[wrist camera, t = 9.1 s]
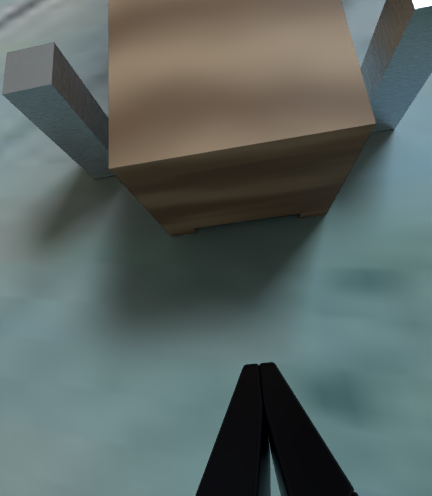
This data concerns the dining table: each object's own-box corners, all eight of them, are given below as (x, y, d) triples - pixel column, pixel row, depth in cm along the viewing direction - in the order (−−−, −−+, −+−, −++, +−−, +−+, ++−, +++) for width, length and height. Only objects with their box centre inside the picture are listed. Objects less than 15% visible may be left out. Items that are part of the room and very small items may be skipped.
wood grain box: (326, 214, 23) (376, 123, 13) (171, 236, 24) (108, 168, 14) (291, 48, 28) (307, -114, 18) (161, 74, 29) (108, -63, 19)
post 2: (394, 128, 24) (482, -6, 15) (355, 135, 24) (415, 8, 15) (385, 97, 25) (461, -49, 15) (347, 104, 25) (398, -35, 16)
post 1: (126, 173, 27) (51, 84, 17) (94, 179, 27) (2, 94, 17) (126, 143, 27) (54, 42, 18) (94, 149, 28) (7, 52, 18)
